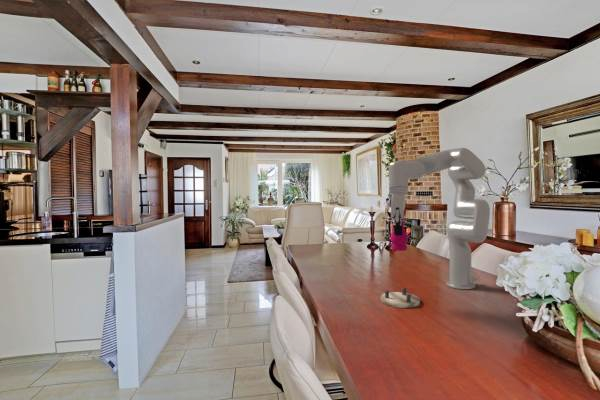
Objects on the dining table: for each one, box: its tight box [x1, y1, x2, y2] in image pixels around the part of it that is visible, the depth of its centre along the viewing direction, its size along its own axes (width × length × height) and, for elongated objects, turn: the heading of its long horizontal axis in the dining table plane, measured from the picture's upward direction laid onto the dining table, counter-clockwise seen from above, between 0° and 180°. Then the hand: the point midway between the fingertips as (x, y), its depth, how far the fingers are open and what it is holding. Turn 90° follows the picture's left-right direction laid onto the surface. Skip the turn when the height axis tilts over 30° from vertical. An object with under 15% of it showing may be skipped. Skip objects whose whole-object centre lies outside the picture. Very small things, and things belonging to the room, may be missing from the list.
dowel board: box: [379, 286, 421, 309], centre depth 135 cm, size 16×16×4 cm
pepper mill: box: [389, 208, 409, 252], centre depth 135 cm, size 7×7×20 cm
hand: (399, 233), depth 135 cm, fingers closed on pepper mill, 5 cm apart
